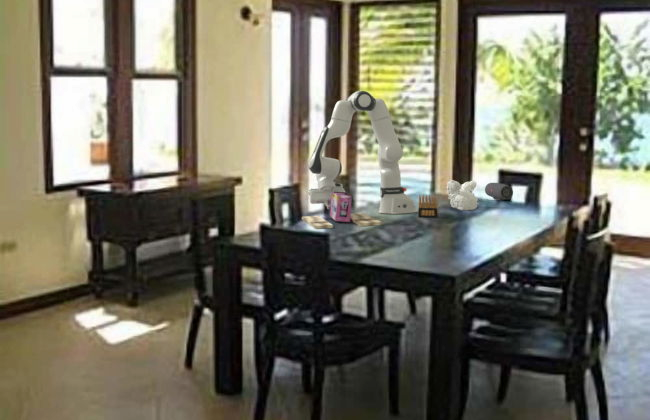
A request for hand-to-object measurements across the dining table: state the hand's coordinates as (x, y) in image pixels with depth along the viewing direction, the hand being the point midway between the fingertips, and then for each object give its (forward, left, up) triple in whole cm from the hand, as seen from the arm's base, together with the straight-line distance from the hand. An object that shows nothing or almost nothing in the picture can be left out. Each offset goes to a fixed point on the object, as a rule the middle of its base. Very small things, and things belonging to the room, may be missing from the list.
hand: (330, 208), depth 486 cm
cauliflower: (-79, -10, -6) cm, 79 cm away
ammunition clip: (-49, +20, -6) cm, 53 cm away
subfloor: (-2, +18, -5) cm, 19 cm away
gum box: (-3, +10, -5) cm, 11 cm away
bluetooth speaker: (-113, -42, -6) cm, 120 cm away
